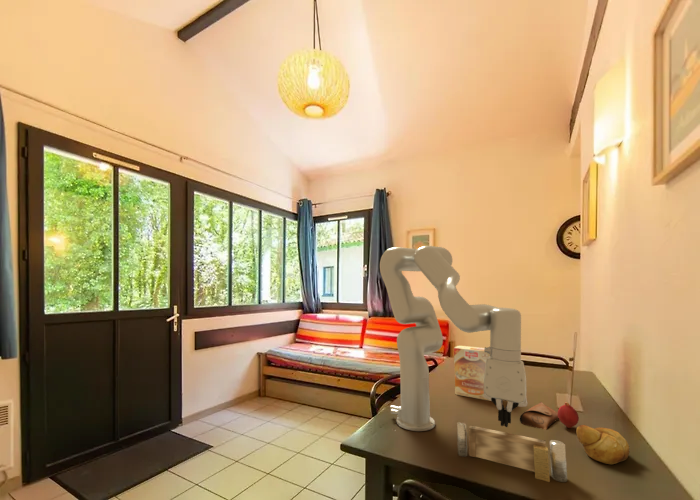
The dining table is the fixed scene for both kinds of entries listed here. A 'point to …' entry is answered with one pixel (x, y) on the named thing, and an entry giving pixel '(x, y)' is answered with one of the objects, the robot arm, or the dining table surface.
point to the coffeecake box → (470, 371)
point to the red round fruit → (568, 415)
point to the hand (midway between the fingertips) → (504, 424)
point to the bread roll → (603, 444)
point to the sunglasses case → (539, 416)
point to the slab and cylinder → (556, 462)
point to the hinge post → (462, 439)
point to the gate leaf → (503, 447)
